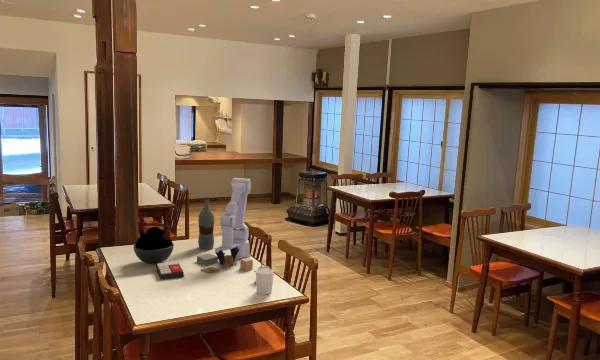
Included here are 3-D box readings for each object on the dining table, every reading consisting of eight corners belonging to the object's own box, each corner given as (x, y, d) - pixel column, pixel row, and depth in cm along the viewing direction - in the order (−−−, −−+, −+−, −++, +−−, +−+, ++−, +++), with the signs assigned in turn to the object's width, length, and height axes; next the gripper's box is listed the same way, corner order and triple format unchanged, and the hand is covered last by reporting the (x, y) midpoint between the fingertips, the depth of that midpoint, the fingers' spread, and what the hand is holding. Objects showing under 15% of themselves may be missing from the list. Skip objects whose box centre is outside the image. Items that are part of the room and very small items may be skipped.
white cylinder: (266, 296, 209) (266, 275, 207) (251, 292, 213) (252, 271, 211) (276, 291, 215) (276, 270, 214) (262, 287, 220) (262, 266, 218)
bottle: (195, 249, 275) (195, 198, 270) (201, 244, 284) (201, 195, 279) (211, 250, 273) (211, 199, 269) (216, 246, 282) (217, 196, 278)
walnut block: (228, 263, 251) (228, 254, 250) (233, 266, 248) (233, 256, 247) (221, 265, 248) (221, 256, 247) (226, 267, 245) (226, 258, 244)
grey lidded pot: (267, 287, 230) (280, 272, 229) (259, 286, 222) (272, 270, 221) (255, 275, 234) (268, 259, 233) (247, 274, 226) (260, 258, 226)
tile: (212, 267, 245) (212, 266, 245) (220, 270, 240) (220, 269, 240) (200, 270, 240) (200, 269, 240) (208, 273, 235) (208, 272, 235)
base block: (209, 259, 258) (209, 253, 257) (218, 263, 252) (218, 256, 252) (196, 262, 252) (196, 256, 252) (205, 266, 247) (205, 259, 246)
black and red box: (160, 273, 223) (155, 262, 237) (160, 282, 224) (155, 270, 238) (183, 270, 228) (178, 260, 241) (183, 279, 229) (177, 268, 242)
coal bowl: (172, 256, 260) (172, 223, 257) (175, 268, 241) (174, 232, 238) (134, 258, 253) (133, 224, 251) (133, 271, 235) (132, 234, 232)
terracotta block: (247, 266, 248) (247, 257, 247) (252, 269, 244) (252, 259, 244) (240, 268, 244) (240, 259, 244) (245, 271, 241) (245, 261, 241)
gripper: (233, 234, 254) (233, 258, 256) (211, 238, 243) (211, 264, 245) (242, 236, 249) (241, 261, 251) (220, 241, 239) (219, 267, 240)
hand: (227, 263), depth 248 cm, fingers open, 7 cm apart
